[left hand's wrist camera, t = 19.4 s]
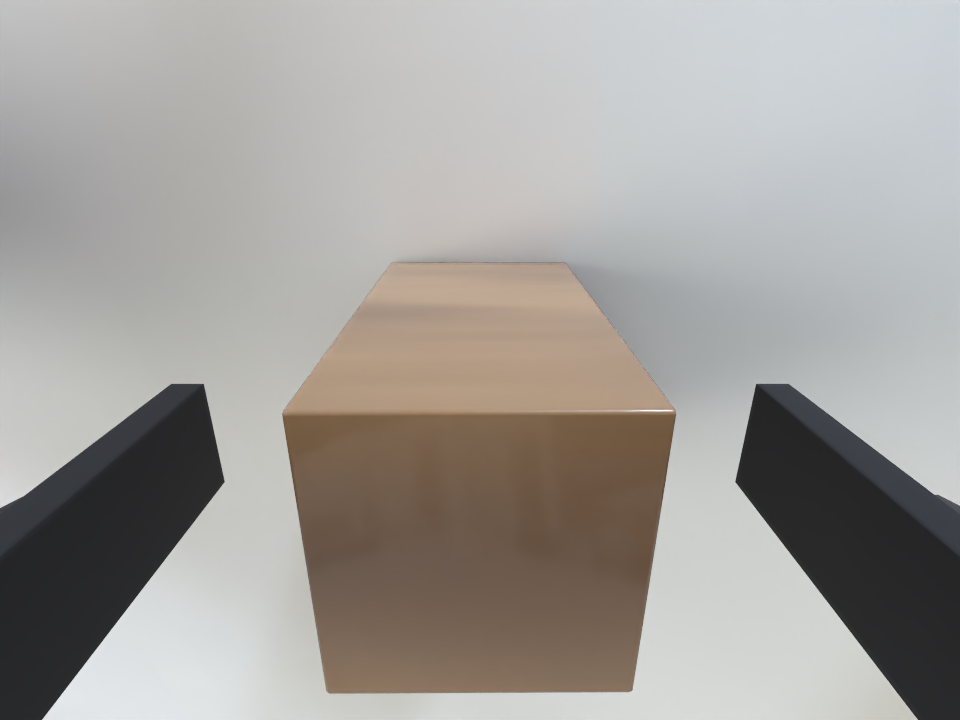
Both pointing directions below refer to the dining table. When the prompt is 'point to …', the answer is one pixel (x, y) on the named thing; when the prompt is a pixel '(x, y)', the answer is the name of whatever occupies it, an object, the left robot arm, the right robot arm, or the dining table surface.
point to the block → (479, 486)
